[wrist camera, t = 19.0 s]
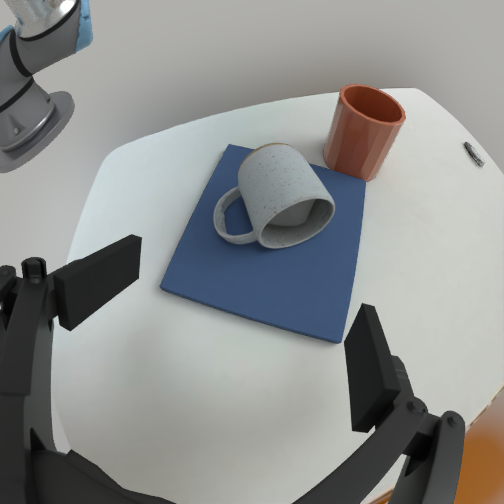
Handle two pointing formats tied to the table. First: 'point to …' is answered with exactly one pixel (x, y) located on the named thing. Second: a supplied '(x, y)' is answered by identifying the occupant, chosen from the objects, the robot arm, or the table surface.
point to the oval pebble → (475, 154)
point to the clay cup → (362, 131)
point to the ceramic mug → (277, 198)
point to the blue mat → (271, 259)
